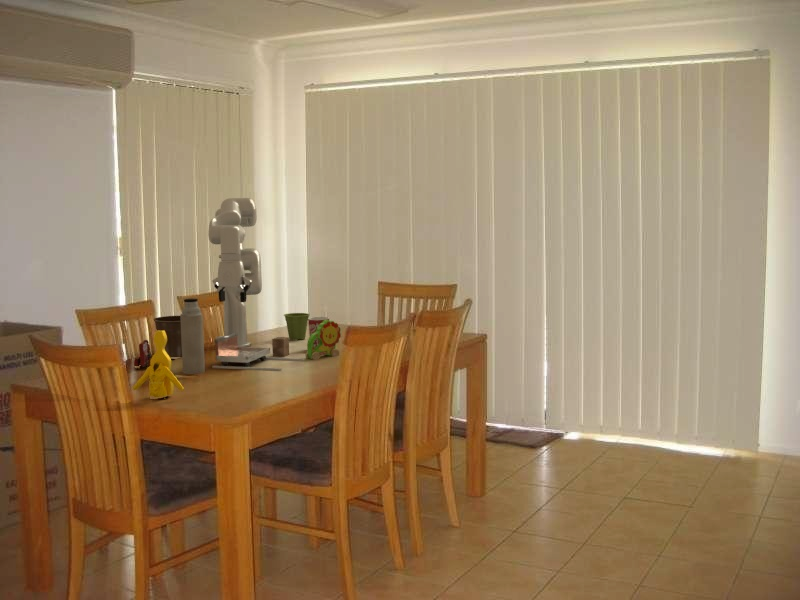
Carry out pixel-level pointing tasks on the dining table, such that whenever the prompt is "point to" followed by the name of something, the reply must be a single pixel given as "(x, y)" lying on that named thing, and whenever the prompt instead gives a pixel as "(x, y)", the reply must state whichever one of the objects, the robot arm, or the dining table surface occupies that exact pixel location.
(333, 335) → the toy lion
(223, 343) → the grey l-shaped piece
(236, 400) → the dining table surface
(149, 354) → the toy fire truck
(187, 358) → the thermos bottle
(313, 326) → the mug
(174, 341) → the plant pot
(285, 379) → the dining table surface
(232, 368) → the grey flat rectangular piece
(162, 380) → the figure statuette
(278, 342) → the walnut block
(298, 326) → the plant pot
